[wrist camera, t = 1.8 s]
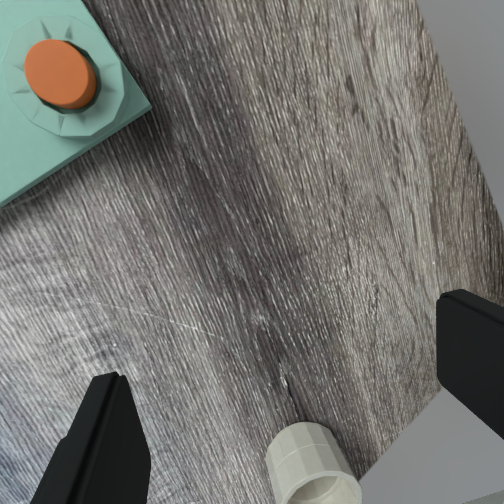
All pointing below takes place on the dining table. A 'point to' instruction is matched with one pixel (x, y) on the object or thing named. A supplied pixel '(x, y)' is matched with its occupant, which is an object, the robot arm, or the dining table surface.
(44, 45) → the power button
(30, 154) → the scale
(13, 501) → the dining table surface
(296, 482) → the white cup
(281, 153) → the dining table surface
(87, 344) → the dining table surface
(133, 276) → the dining table surface
